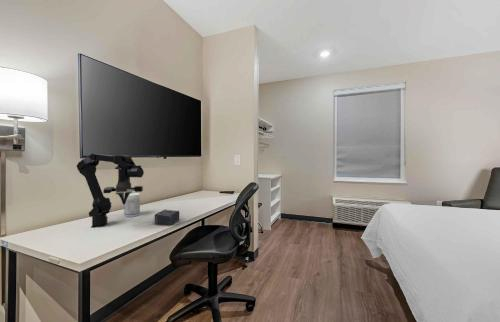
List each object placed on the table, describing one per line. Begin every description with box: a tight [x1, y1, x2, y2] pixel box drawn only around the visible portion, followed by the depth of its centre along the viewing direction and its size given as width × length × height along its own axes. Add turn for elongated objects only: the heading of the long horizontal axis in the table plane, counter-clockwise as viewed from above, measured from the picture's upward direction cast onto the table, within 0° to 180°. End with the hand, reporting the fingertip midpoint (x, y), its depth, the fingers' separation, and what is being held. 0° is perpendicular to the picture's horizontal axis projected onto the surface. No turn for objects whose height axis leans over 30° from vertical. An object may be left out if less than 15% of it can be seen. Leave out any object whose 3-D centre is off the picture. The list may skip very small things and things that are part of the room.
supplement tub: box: [123, 192, 141, 218], centre depth 140 cm, size 10×10×15 cm
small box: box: [154, 209, 180, 226], centre depth 126 cm, size 11×6×10 cm
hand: (124, 204), depth 117 cm, fingers closed
